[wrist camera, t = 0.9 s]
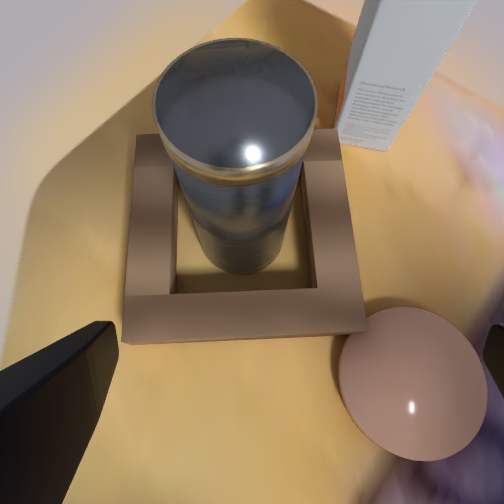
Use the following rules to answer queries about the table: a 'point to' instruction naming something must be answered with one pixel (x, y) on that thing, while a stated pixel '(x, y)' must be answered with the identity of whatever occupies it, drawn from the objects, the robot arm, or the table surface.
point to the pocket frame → (241, 302)
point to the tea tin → (237, 144)
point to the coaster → (413, 384)
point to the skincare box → (393, 65)
